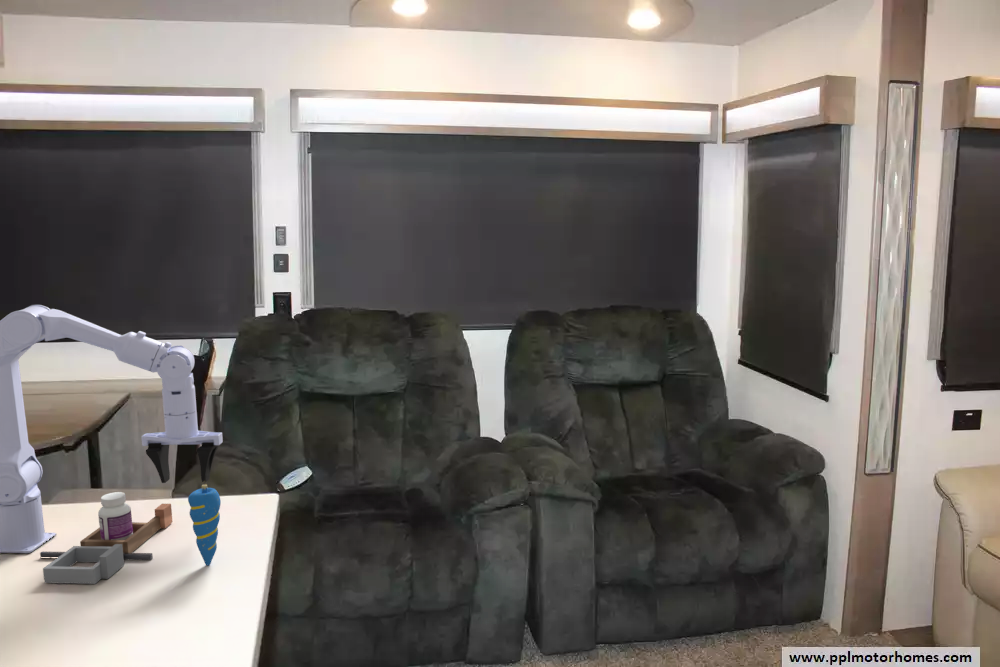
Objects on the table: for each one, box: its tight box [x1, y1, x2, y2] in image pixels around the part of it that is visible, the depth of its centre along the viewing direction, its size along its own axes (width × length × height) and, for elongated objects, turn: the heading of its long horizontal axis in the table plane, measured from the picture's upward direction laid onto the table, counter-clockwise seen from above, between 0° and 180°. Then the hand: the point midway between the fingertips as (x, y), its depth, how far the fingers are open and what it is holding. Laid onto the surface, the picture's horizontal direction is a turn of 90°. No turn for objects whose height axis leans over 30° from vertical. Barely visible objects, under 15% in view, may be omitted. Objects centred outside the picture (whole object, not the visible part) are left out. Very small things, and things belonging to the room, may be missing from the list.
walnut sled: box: [79, 503, 173, 553], centre depth 146 cm, size 10×15×4 cm, turn 177°
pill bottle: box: [98, 491, 133, 540], centre depth 142 cm, size 5×5×10 cm
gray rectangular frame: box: [42, 544, 125, 585], centre depth 132 cm, size 10×9×4 cm
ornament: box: [187, 481, 221, 566], centre depth 134 cm, size 5×5×15 cm
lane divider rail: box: [39, 551, 153, 561], centre depth 138 cm, size 20×1×1 cm, turn 87°
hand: (185, 480), depth 149 cm, fingers open, 7 cm apart
